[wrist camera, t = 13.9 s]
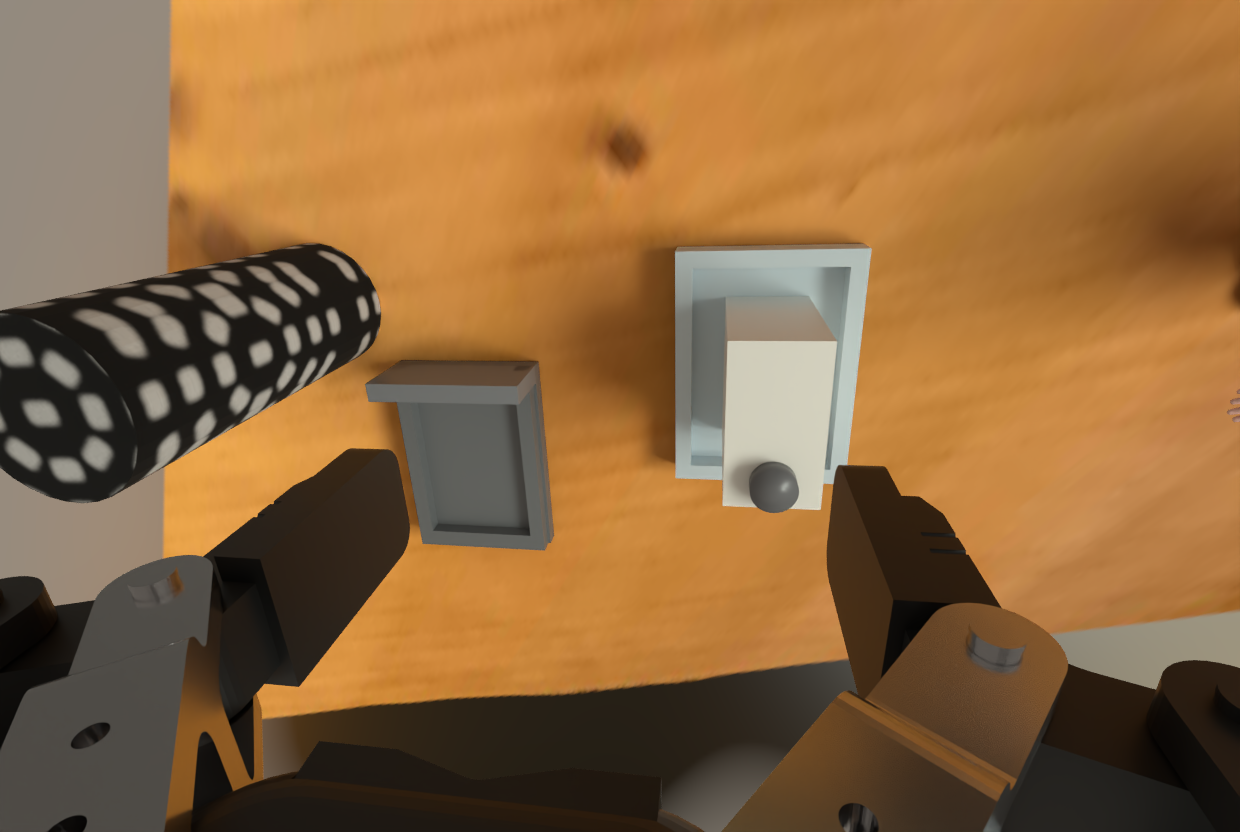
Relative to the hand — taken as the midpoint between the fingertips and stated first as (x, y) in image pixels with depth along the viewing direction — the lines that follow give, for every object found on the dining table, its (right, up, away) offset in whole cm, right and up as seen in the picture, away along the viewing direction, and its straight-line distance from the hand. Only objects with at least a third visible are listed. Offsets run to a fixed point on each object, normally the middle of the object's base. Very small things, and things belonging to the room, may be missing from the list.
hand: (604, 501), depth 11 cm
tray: (+10, +5, +29) cm, 31 cm away
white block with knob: (+9, +5, +29) cm, 31 cm away
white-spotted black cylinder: (-20, +9, +32) cm, 39 cm away
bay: (-10, -1, +35) cm, 36 cm away
